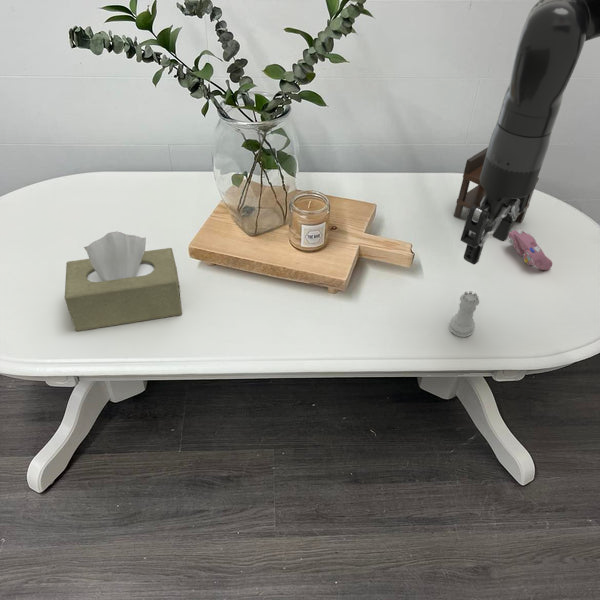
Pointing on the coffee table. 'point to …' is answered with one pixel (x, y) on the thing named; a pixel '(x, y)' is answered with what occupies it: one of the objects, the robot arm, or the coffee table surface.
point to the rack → (477, 193)
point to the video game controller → (529, 249)
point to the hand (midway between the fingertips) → (485, 249)
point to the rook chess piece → (464, 315)
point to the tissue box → (121, 283)
